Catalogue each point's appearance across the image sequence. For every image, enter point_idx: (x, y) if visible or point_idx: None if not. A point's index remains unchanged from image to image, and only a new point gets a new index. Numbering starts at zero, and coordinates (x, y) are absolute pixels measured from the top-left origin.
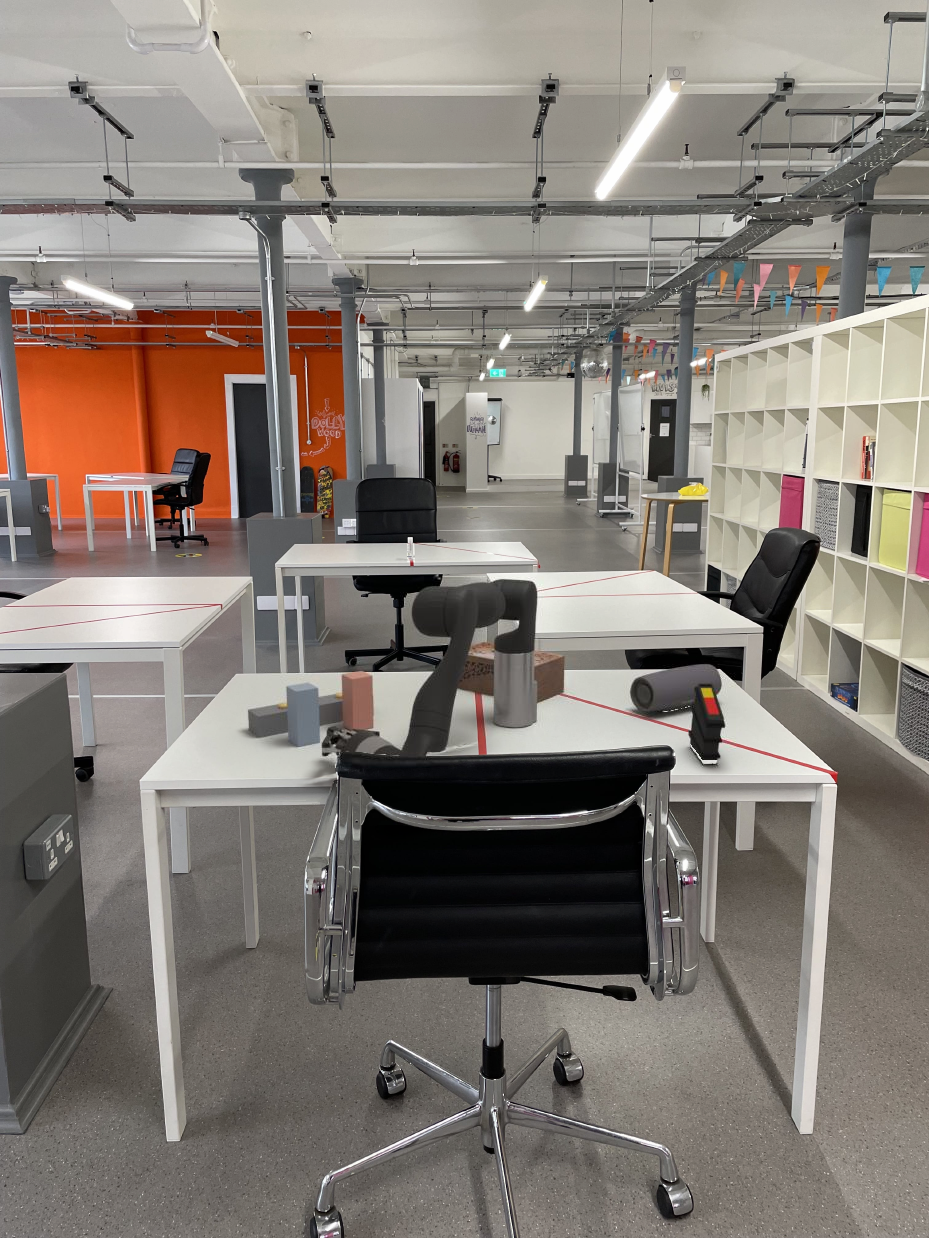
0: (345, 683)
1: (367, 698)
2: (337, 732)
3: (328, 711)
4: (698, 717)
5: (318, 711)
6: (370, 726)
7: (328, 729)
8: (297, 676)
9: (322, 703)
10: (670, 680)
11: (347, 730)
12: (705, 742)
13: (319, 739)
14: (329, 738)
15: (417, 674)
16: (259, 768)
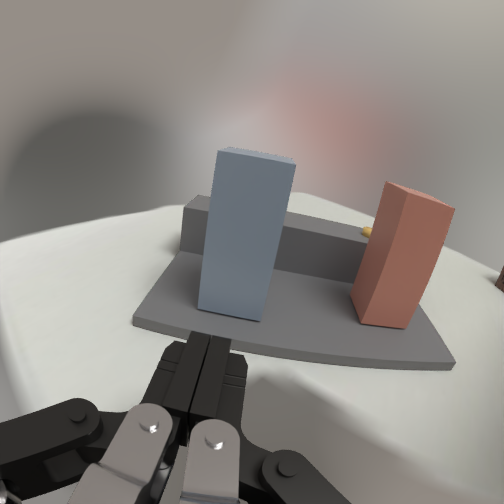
0: (387, 203)
1: (424, 260)
2: (148, 428)
3: (334, 253)
4: None
5: (277, 239)
6: (401, 324)
7: (189, 342)
8: (344, 208)
9: (329, 232)
10: None
11: (236, 449)
12: None
13: (260, 314)
14: (17, 449)
15: (458, 254)
16: (65, 317)
